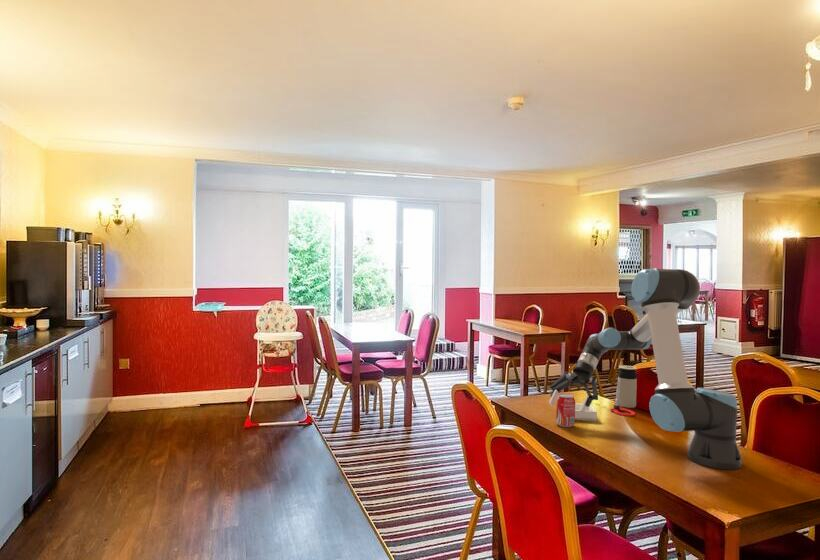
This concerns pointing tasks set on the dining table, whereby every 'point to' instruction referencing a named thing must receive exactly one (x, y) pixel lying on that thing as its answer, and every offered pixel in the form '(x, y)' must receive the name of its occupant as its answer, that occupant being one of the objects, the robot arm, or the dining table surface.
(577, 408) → the open white tray
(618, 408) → the tow hook
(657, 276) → the robot arm
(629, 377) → the travel mug
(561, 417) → the soda can
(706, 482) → the dining table surface
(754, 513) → the dining table surface
